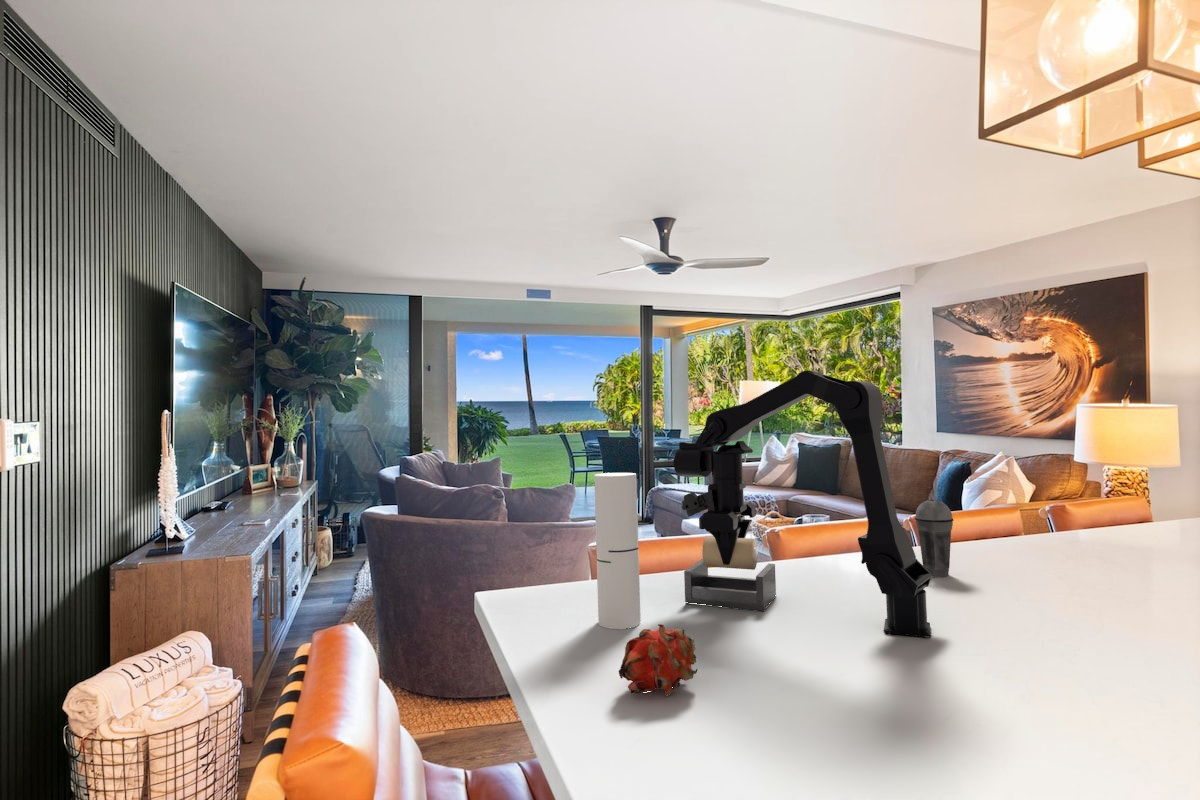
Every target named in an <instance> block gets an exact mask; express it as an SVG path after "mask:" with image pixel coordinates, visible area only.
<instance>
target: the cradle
mask: <svg viewBox="0 0 1200 800" xmlns="http://www.w3.org/2000/svg"><path fill="white" fill-rule="evenodd" d="M683 574H684V602H688V603H697V604H706V605H712V606H722V607H729V608H728V609H733V608H738V609H737V610H743V609H748V610H747V611H753V610H758V611H757V612H765V611H766V610H765V609H767V608H768V607H769V606H770V604H771V603H772V602H773V601H774V599H775V598H776V597H775V595H776V596H777V586H776V585H777V584H776V582H777V581H776V563H768V564H766V565H765V566H764V568H762V570H760V572H759V573H758V574H757V575H756V576H755V578H751V577H737V576H736V577H735V576H725V575H724V576H723V575H721V576H720V575H713V574H712V575H709V567H706V566H705V565H704V562H703V558H701V559H700V560H698V561H697V562H695V563H694V564H693V565H691V566H690V567H688V568H687V569H685V570H684V572H683ZM774 597H775V598H774ZM773 598H774V599H773ZM772 600H773V601H772ZM771 601H772V602H771ZM770 602H771V603H770ZM769 603H770V604H769ZM768 605H769V606H768ZM712 606H711V607H712ZM767 606H768V607H767ZM722 607H721V608H722ZM766 607H767V608H766ZM764 610H765V611H764Z"/></svg>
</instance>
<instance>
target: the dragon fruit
mask: <svg viewBox="0 0 1200 800" xmlns="http://www.w3.org/2000/svg"><path fill="white" fill-rule="evenodd" d="M657 626H658V627H659V628H658V629H657V630H651V629H646V628H644V629H642V630H640V632H639V634H638V636H636V637H634V638H632V639H628V641H627V642H626V644H625V648H624V656H623V659H622V662H621V665H620V668H619V670H618V675H619V677H620V679H621V680H622V679H623V678H624V679H625V680H626V681H628V682H629V681H631V682H630V683H629V684H628V685H627V689H628V690H629V691H630V693H631V694H634V693H640V694H644V693H643V692H647V691H652V692H653V691H655V690H664V695H665V694H666V695H668V696H670V695H671V694H672V693H674V692H675V691H676V690H677V689H678V688H679V687H680V686H681V681H684V682H685V681H686V682H687V681H688V680H692V679H693V678H694V675H696V673H698V668H696V669H695V670H694V669H692V666H693V665H695V663H697V655H696V654H695V651H696V649H697V648H696V644H695V639H692V638H690V636H689V635H686V634H685V630H684V629H681V628H675V629H674V630H672V629H670V630H669V629H668V628H666V627H665V625H664V624H662V623H658V624H657ZM672 687H673V688H672ZM669 694H670V695H669ZM666 695H665V696H666Z"/></svg>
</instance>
